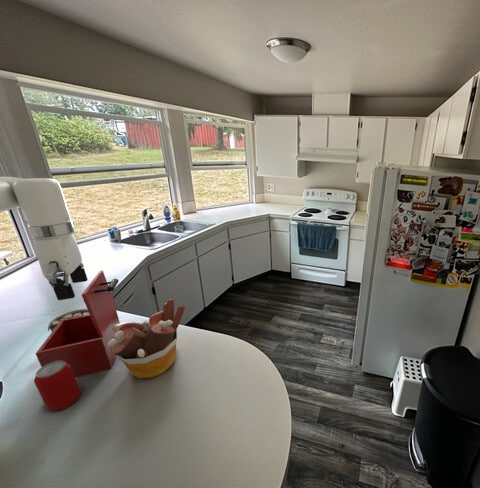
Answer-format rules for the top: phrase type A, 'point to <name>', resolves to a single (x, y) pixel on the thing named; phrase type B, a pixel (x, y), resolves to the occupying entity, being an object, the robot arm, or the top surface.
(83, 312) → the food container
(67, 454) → the top surface
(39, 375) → the beverage can
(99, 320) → the lid
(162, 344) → the bucket of meat
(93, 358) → the red hinged box
